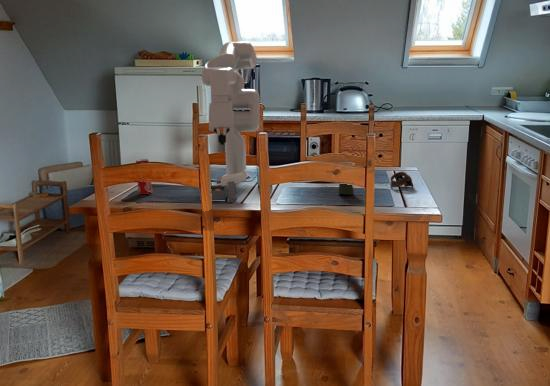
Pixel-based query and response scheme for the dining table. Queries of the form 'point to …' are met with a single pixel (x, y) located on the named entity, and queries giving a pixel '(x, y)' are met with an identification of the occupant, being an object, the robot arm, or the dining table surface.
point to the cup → (218, 192)
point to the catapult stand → (232, 192)
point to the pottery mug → (401, 180)
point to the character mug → (344, 187)
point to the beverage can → (144, 186)
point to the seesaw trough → (233, 178)
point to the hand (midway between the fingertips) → (222, 144)
